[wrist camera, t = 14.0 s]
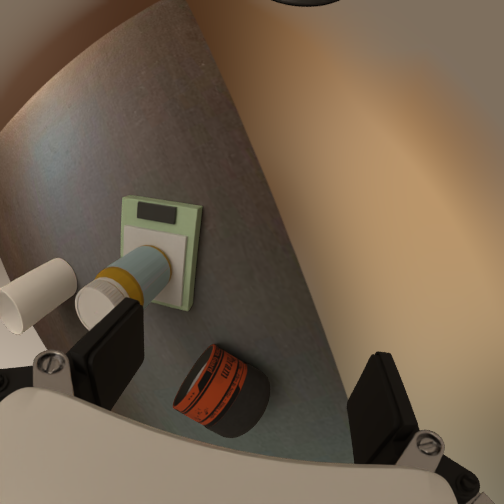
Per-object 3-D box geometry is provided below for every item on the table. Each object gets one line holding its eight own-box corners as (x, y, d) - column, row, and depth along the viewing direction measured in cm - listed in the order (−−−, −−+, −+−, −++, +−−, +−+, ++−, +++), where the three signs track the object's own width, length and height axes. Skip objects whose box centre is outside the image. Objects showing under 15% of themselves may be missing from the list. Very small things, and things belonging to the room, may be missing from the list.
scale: (130, 195, 43) (119, 198, 40) (202, 206, 42) (195, 210, 39) (128, 287, 48) (118, 295, 45) (192, 304, 47) (186, 314, 44)
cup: (45, 257, 49) (-11, 287, 34) (72, 258, 48) (13, 292, 33) (53, 294, 52) (3, 330, 37) (81, 298, 51) (29, 339, 35)
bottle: (163, 238, 41) (105, 278, 27) (180, 283, 43) (133, 338, 28) (125, 250, 42) (63, 289, 28) (141, 291, 44) (89, 343, 30)
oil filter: (221, 329, 48) (201, 380, 36) (281, 366, 49) (277, 421, 37) (186, 372, 52) (163, 421, 40) (240, 403, 53) (228, 455, 41)
